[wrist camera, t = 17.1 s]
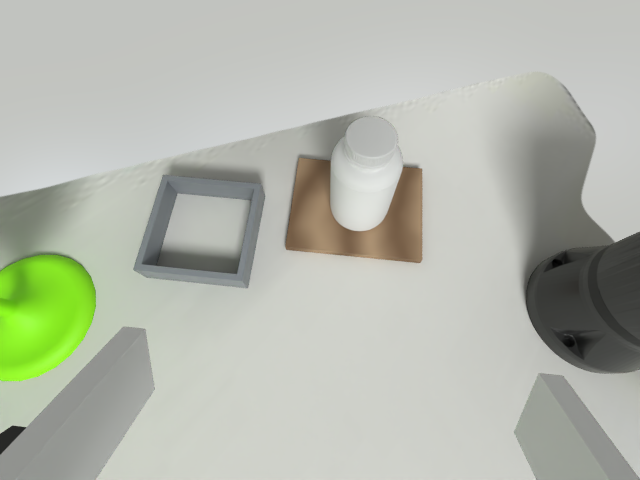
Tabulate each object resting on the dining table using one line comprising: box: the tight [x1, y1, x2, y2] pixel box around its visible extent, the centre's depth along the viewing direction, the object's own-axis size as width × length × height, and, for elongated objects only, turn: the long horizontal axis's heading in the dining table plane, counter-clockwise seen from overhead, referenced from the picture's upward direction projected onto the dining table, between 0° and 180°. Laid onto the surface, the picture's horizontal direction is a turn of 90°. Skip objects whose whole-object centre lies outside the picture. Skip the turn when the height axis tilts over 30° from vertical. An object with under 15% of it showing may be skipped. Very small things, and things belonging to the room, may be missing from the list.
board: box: [285, 158, 422, 263], centre depth 49 cm, size 18×14×1 cm
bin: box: [133, 175, 265, 288], centre depth 47 cm, size 14×14×4 cm
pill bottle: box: [330, 116, 403, 231], centre depth 41 cm, size 8×8×15 cm
